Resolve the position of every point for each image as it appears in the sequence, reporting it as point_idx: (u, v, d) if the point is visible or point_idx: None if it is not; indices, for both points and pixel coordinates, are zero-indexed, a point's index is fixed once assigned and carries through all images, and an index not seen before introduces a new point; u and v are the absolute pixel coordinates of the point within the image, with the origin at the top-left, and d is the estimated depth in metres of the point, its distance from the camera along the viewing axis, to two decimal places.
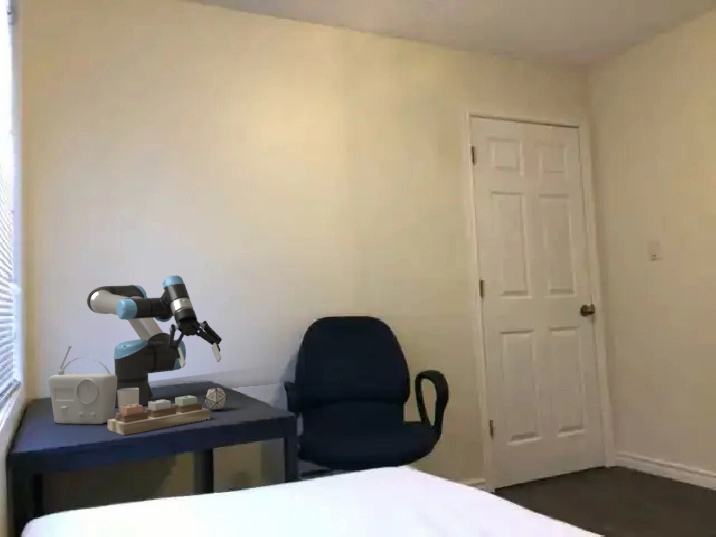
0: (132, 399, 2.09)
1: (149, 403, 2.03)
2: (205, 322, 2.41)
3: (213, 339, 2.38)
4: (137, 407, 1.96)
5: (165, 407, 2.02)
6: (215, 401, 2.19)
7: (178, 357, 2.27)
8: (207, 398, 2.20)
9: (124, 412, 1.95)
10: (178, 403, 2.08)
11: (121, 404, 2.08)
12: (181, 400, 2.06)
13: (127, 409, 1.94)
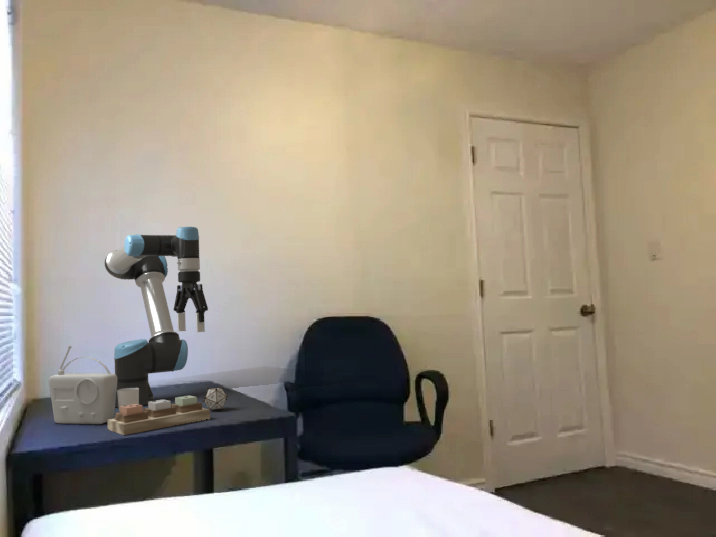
0: (132, 399, 2.09)
1: (149, 403, 2.03)
2: (195, 286, 2.24)
3: (196, 308, 2.23)
4: (137, 407, 1.96)
5: (165, 407, 2.02)
6: (215, 401, 2.19)
7: None
8: (207, 398, 2.20)
9: (124, 412, 1.95)
10: (178, 403, 2.08)
11: (121, 404, 2.08)
12: (181, 400, 2.06)
13: (127, 409, 1.94)
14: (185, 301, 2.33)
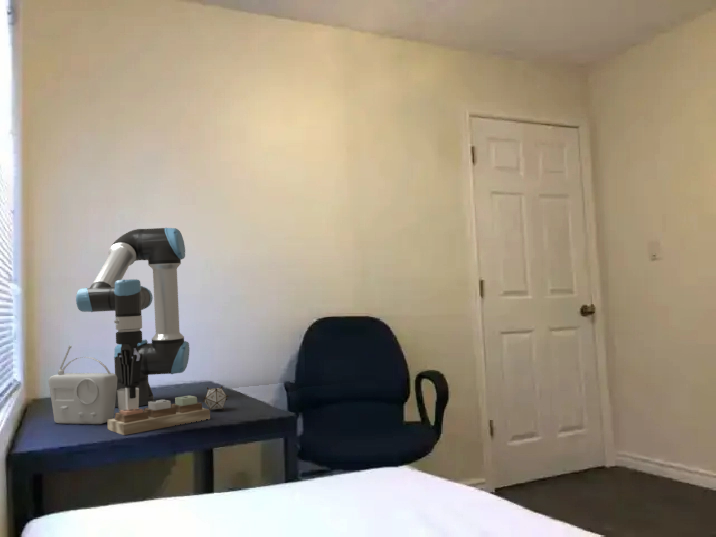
0: None
1: (149, 403, 2.03)
2: (133, 357, 1.93)
3: (128, 381, 1.96)
4: (137, 411, 1.96)
5: (165, 407, 2.02)
6: (215, 401, 2.19)
7: None
8: (207, 398, 2.20)
9: None
10: (178, 403, 2.08)
11: (121, 404, 2.08)
12: (181, 400, 2.06)
13: (127, 413, 1.94)
14: None
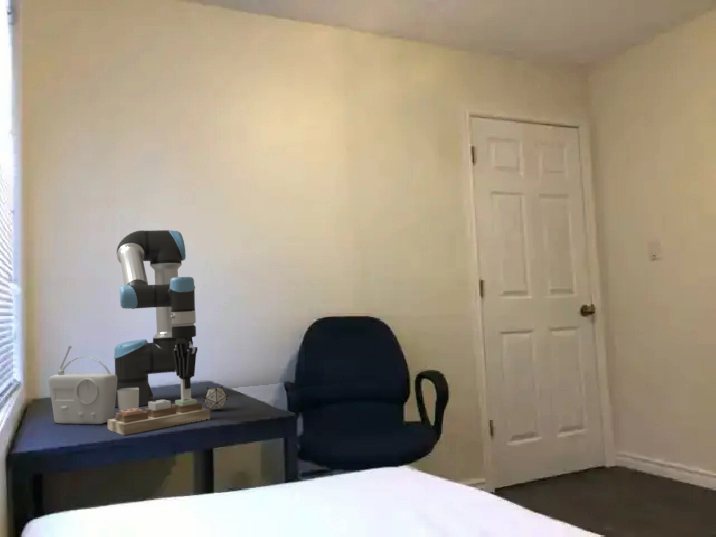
0: (132, 399, 2.09)
1: (149, 403, 2.03)
2: (189, 350, 2.05)
3: (183, 373, 2.08)
4: (137, 411, 1.96)
5: (165, 407, 2.02)
6: (215, 401, 2.19)
7: None
8: (207, 398, 2.20)
9: None
10: None
11: (121, 404, 2.08)
12: (181, 403, 2.06)
13: (127, 413, 1.94)
14: None
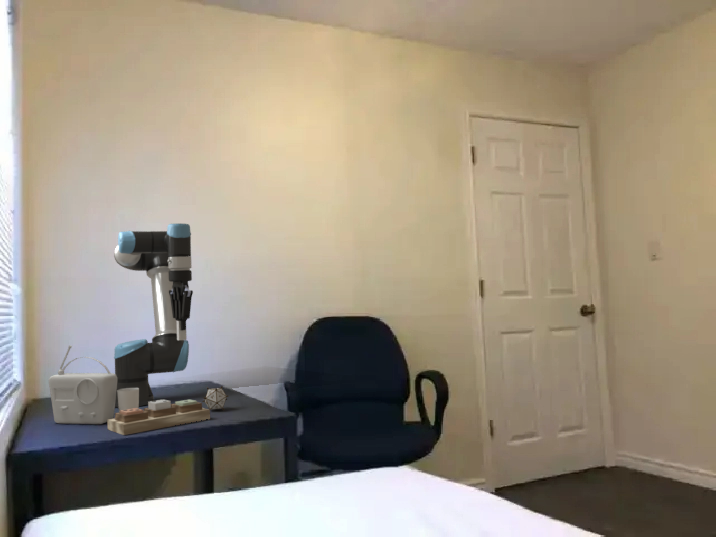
0: (132, 399, 2.09)
1: (149, 403, 2.03)
2: (185, 293, 2.15)
3: (179, 315, 2.18)
4: (137, 411, 1.96)
5: (165, 407, 2.02)
6: (215, 401, 2.19)
7: None
8: (207, 398, 2.20)
9: None
10: None
11: (121, 404, 2.08)
12: (181, 404, 2.06)
13: (127, 413, 1.94)
14: None
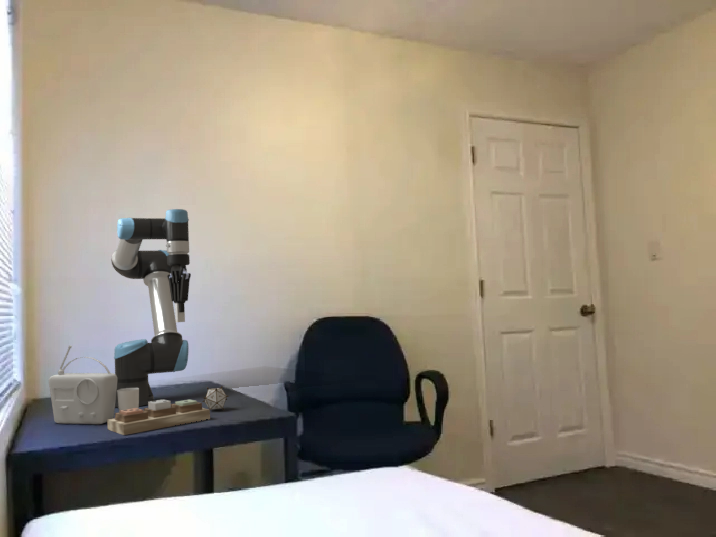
0: (132, 399, 2.09)
1: (149, 403, 2.03)
2: (183, 275, 2.22)
3: (178, 297, 2.25)
4: (137, 411, 1.96)
5: (165, 407, 2.02)
6: (215, 401, 2.19)
7: None
8: (207, 398, 2.20)
9: None
10: None
11: (121, 404, 2.08)
12: (181, 404, 2.06)
13: (127, 413, 1.94)
14: None
